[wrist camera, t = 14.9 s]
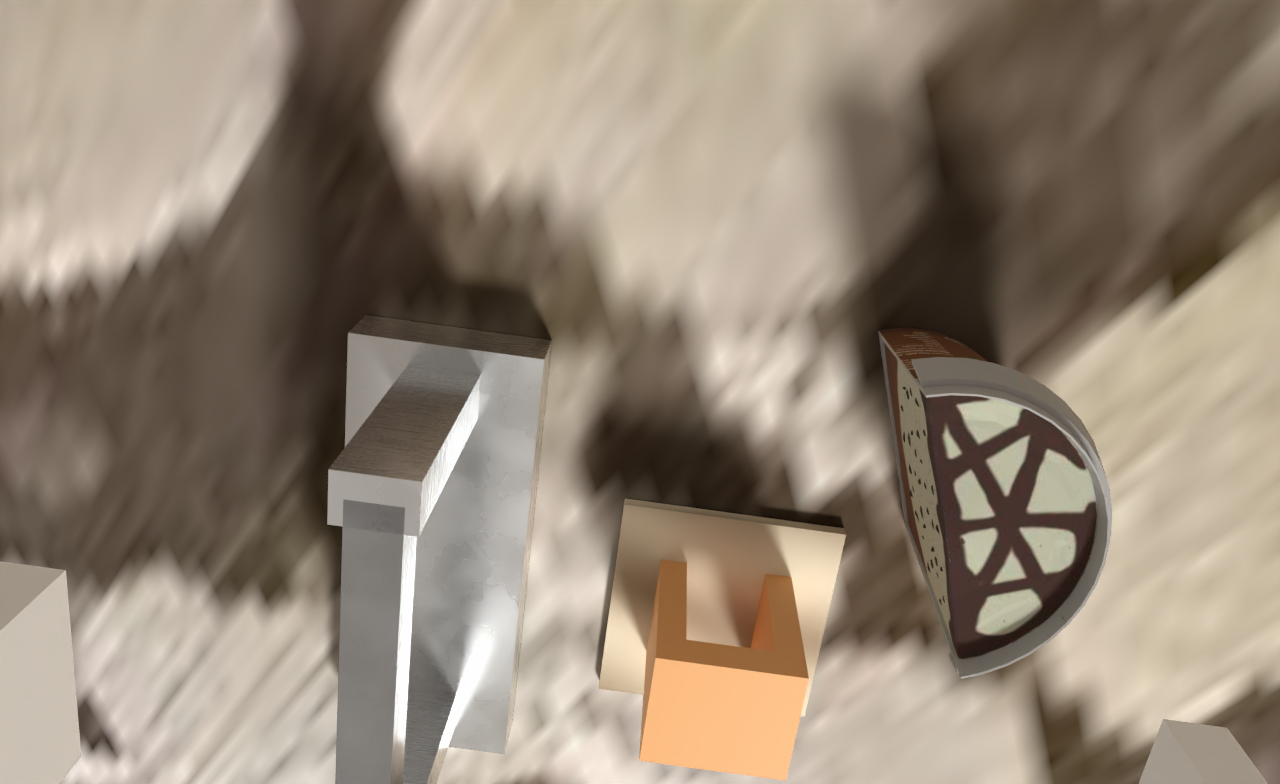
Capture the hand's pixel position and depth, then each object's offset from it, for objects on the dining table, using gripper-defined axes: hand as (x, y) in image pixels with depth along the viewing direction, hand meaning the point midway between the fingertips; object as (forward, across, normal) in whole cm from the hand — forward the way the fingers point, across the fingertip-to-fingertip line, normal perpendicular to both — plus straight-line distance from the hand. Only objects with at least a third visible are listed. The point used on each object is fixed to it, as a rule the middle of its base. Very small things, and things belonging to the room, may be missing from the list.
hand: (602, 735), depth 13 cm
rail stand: (+32, -8, -16) cm, 36 cm away
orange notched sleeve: (+31, +5, -18) cm, 36 cm away
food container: (+32, +14, -7) cm, 36 cm away
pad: (+32, +5, -18) cm, 37 cm away
